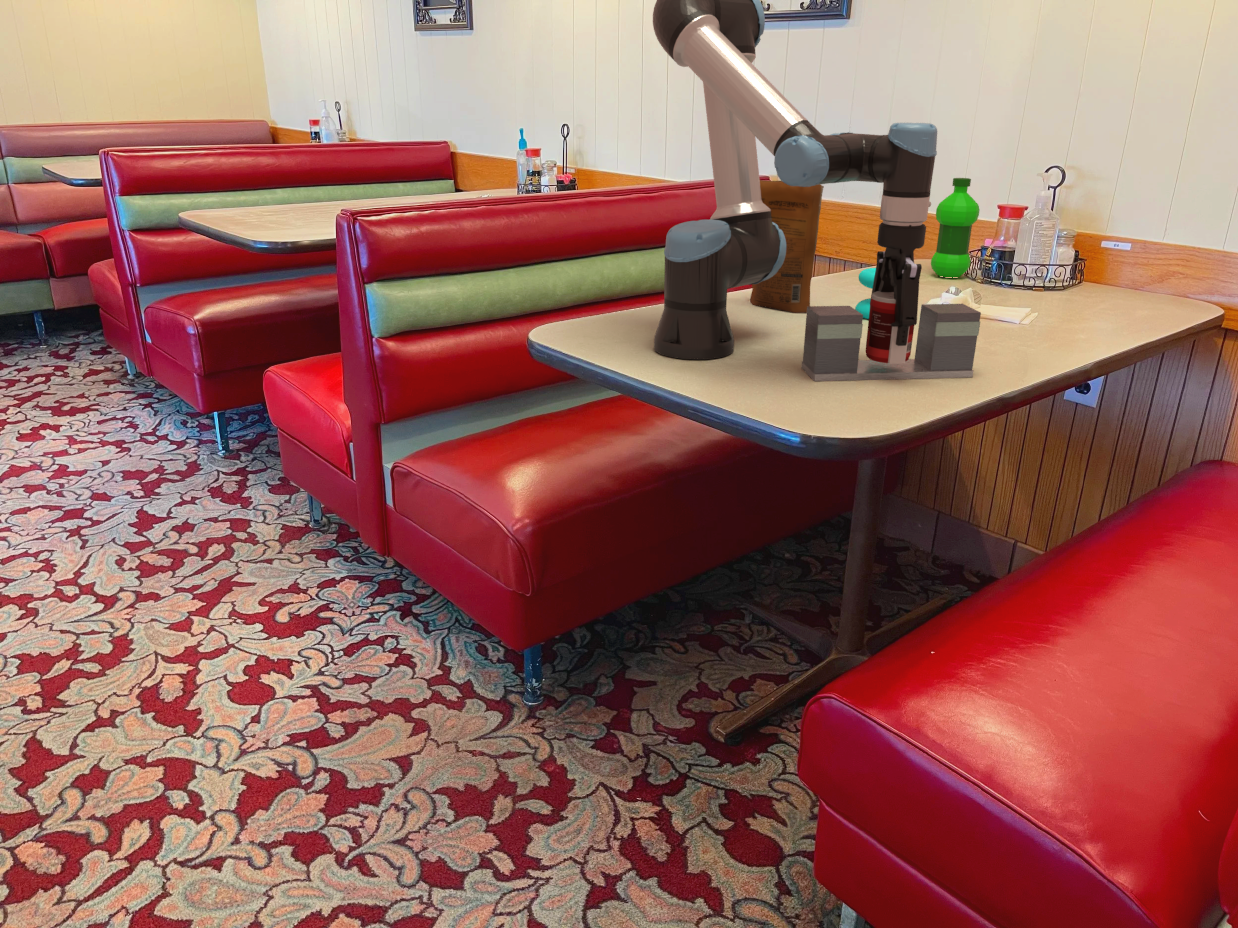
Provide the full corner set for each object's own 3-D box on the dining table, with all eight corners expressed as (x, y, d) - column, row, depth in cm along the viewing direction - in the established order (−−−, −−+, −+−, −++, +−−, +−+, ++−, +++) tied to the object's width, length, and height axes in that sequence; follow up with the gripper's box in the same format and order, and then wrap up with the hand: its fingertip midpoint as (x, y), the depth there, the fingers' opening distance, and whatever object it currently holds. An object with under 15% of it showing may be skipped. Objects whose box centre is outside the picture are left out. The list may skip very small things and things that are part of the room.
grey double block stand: (814, 381, 158) (819, 316, 153) (801, 368, 165) (806, 305, 161) (972, 377, 160) (982, 313, 156) (952, 364, 168) (961, 303, 163)
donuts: (906, 268, 202) (908, 276, 193) (900, 313, 206) (902, 323, 197) (859, 265, 204) (859, 274, 195) (854, 310, 208) (854, 320, 199)
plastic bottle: (941, 272, 252) (954, 176, 243) (977, 277, 245) (991, 179, 235) (920, 276, 246) (932, 178, 237) (956, 282, 239) (970, 181, 229)
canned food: (901, 351, 165) (909, 290, 161) (916, 363, 158) (924, 300, 154) (859, 351, 165) (865, 290, 161) (872, 364, 158) (879, 300, 154)
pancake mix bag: (804, 317, 202) (815, 183, 191) (734, 304, 214) (740, 177, 203) (821, 312, 206) (832, 181, 196) (751, 299, 218) (758, 175, 208)
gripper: (951, 231, 144) (932, 372, 152) (901, 214, 163) (886, 340, 171) (905, 231, 143) (888, 373, 152) (859, 214, 162) (847, 341, 171)
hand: (887, 356), depth 161 cm, fingers closed on canned food, 8 cm apart
